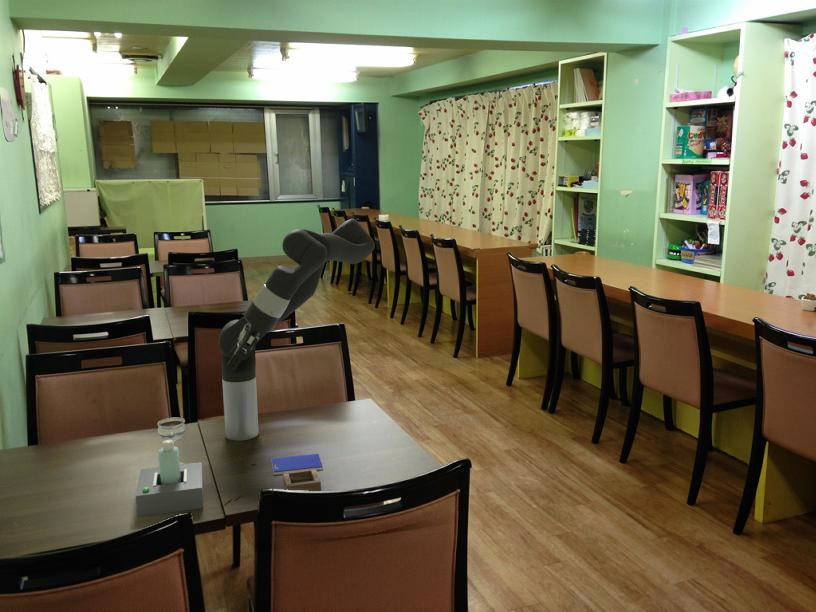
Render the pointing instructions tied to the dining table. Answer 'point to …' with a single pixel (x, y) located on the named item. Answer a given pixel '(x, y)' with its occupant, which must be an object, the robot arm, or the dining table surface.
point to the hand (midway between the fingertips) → (232, 362)
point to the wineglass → (171, 429)
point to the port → (169, 491)
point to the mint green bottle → (169, 463)
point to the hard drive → (295, 463)
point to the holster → (300, 475)
